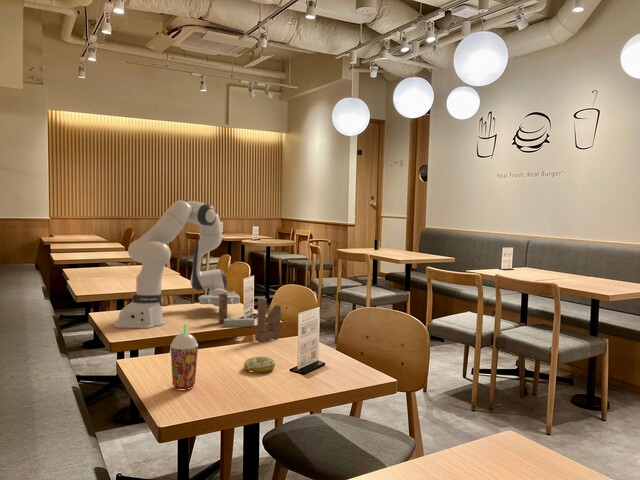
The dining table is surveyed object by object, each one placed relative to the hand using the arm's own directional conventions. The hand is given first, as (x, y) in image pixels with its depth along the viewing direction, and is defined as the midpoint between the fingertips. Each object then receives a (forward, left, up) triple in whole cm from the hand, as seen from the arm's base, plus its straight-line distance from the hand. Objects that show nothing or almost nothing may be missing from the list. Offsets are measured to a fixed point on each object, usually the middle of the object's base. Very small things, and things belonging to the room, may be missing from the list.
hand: (220, 302), depth 265 cm
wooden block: (+16, -43, -8) cm, 47 cm away
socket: (+7, -14, -8) cm, 18 cm away
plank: (0, -10, -8) cm, 13 cm away
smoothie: (-20, -97, -8) cm, 100 cm away
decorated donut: (+6, -83, -8) cm, 84 cm away
